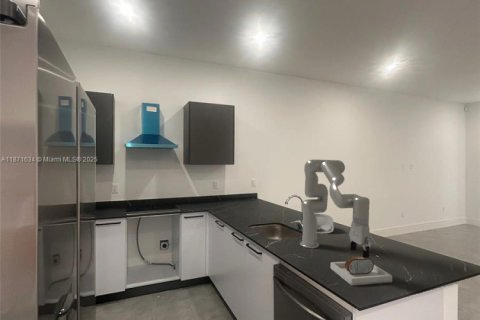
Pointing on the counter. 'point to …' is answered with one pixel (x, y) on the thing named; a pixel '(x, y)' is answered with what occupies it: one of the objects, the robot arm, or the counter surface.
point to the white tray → (361, 275)
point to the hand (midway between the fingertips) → (359, 253)
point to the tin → (359, 265)
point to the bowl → (324, 223)
